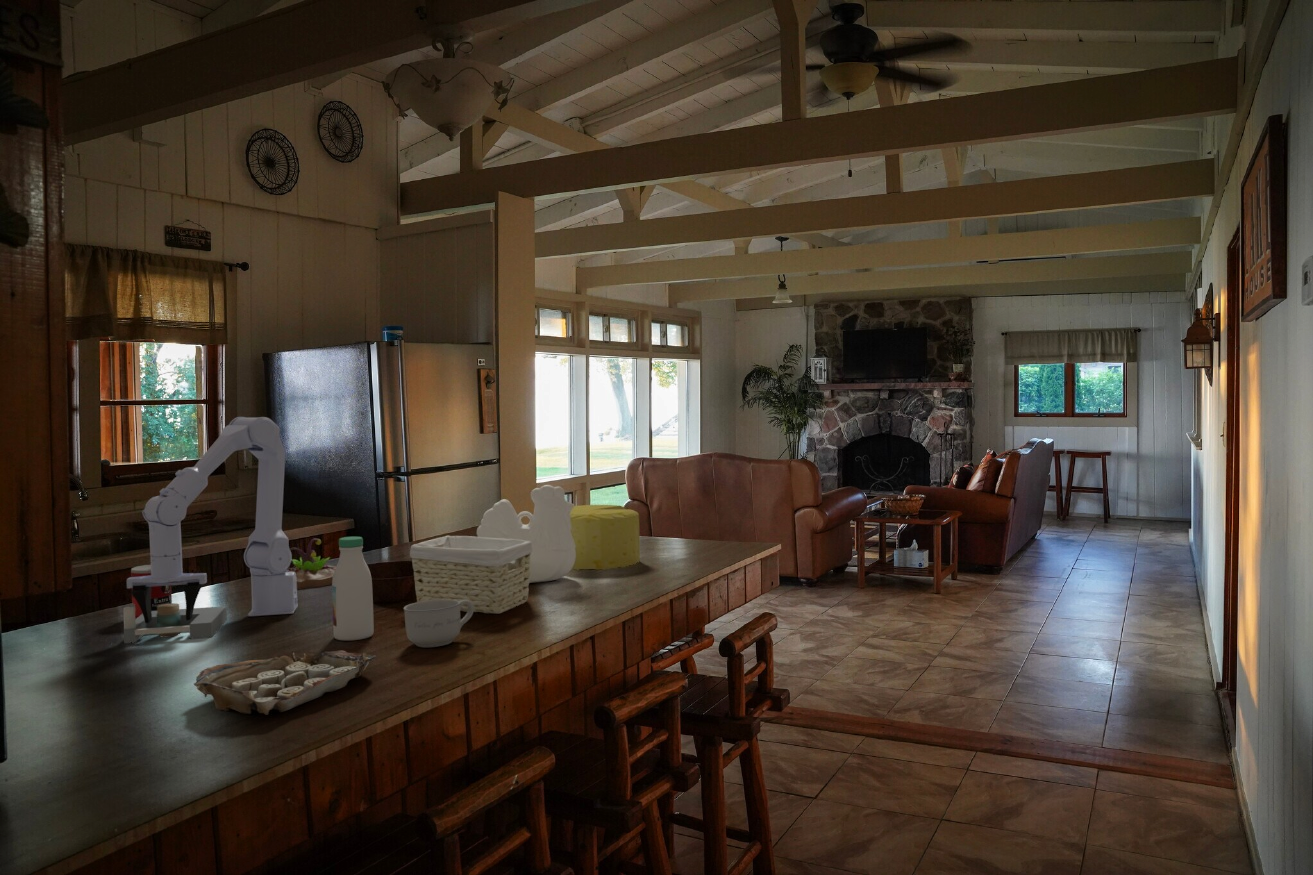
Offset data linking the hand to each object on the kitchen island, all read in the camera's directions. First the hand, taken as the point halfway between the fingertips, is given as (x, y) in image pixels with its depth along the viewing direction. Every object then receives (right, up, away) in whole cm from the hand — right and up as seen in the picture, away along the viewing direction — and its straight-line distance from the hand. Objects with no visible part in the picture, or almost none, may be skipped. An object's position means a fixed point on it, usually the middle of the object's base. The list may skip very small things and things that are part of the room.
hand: (168, 620), depth 192 cm
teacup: (+58, -3, -9) cm, 59 cm away
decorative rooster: (+67, 0, +51) cm, 84 cm away
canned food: (-12, -3, +17) cm, 21 cm away
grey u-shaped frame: (0, -3, +3) cm, 4 cm away
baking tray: (+39, -5, -37) cm, 54 cm away
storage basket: (+58, -1, +23) cm, 62 cm away
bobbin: (0, -3, 0) cm, 3 cm away
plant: (+9, -1, +55) cm, 55 cm away
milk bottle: (+39, -3, -4) cm, 39 cm away
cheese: (+82, +2, +76) cm, 112 cm away
